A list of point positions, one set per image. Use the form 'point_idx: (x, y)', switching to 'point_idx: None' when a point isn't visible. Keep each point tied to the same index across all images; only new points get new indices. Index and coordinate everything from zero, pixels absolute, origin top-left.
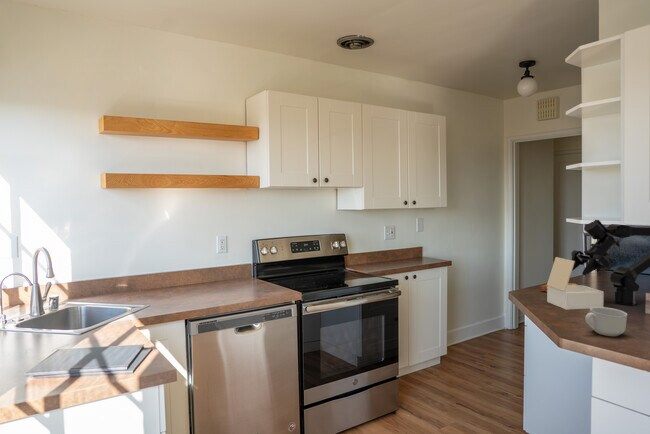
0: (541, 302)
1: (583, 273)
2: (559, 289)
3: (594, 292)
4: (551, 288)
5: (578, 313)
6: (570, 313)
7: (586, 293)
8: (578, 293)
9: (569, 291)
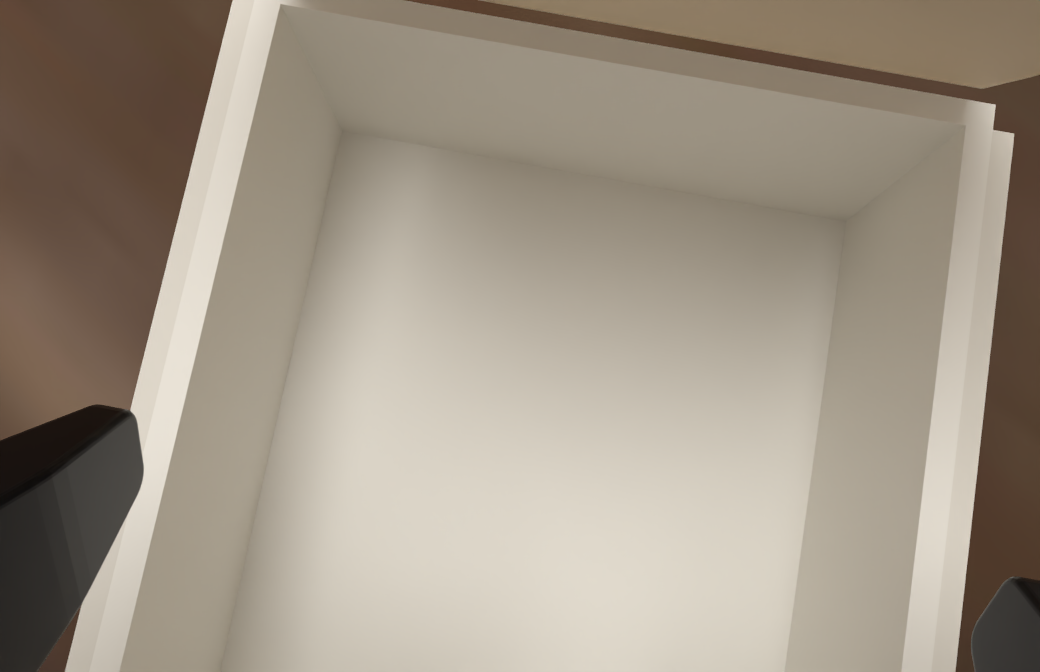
0: None
1: (74, 431)
2: (903, 390)
3: (82, 605)
4: (814, 82)
5: (83, 117)
6: (125, 12)
7: (138, 410)
8: (182, 228)
9: (853, 624)
